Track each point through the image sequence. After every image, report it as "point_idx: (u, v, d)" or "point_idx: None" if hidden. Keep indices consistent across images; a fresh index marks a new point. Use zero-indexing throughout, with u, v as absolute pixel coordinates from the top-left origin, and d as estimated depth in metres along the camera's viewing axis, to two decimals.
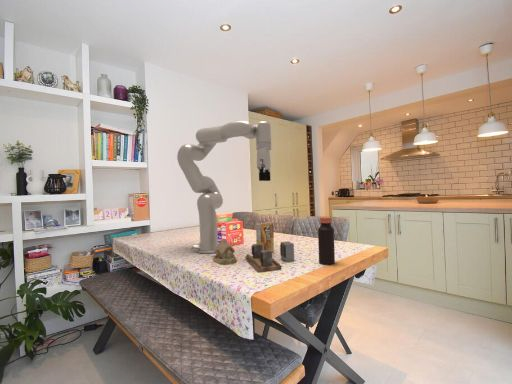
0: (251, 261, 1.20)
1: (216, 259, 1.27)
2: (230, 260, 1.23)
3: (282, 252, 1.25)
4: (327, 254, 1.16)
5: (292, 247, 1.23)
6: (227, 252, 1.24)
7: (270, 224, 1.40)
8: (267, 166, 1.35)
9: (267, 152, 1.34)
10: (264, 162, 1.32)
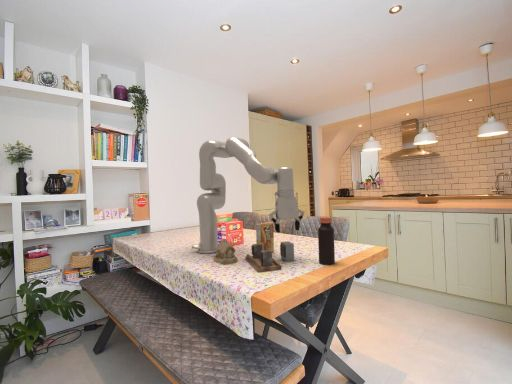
0: (251, 261, 1.20)
1: (217, 259, 1.27)
2: (231, 260, 1.23)
3: (282, 252, 1.25)
4: (327, 254, 1.16)
5: (292, 247, 1.23)
6: (228, 252, 1.25)
7: (270, 224, 1.40)
8: None
9: None
10: None
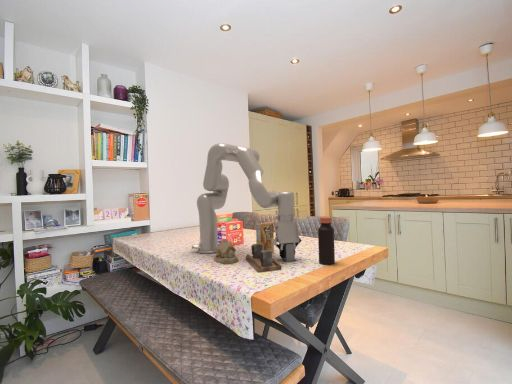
0: (251, 261, 1.20)
1: (217, 259, 1.28)
2: (232, 259, 1.24)
3: None
4: (327, 254, 1.16)
5: (293, 247, 1.23)
6: (229, 252, 1.25)
7: (270, 224, 1.40)
8: None
9: None
10: None
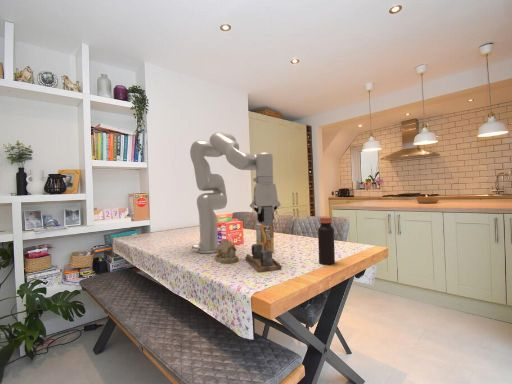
0: (251, 261, 1.20)
1: (218, 258, 1.28)
2: (233, 259, 1.24)
3: None
4: (327, 254, 1.16)
5: (271, 210, 1.19)
6: (230, 251, 1.26)
7: None
8: None
9: None
10: None
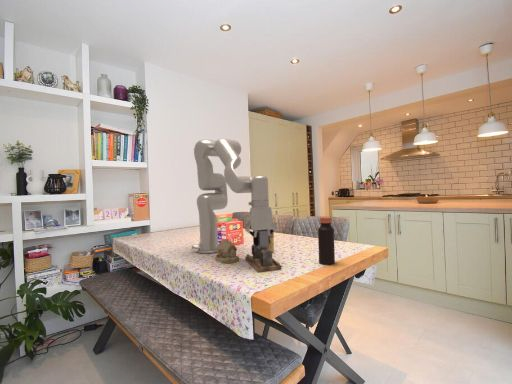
0: (251, 261, 1.20)
1: (219, 258, 1.28)
2: (234, 259, 1.25)
3: None
4: (327, 254, 1.16)
5: (267, 234, 1.18)
6: (230, 251, 1.26)
7: None
8: None
9: None
10: None
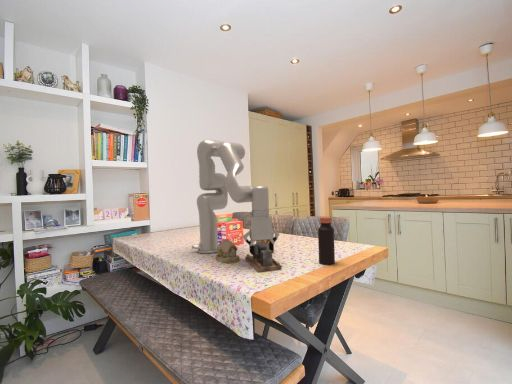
0: (251, 261, 1.20)
1: (219, 258, 1.28)
2: (234, 259, 1.25)
3: (257, 252, 1.19)
4: (327, 254, 1.16)
5: (267, 247, 1.18)
6: (231, 251, 1.26)
7: None
8: None
9: None
10: None
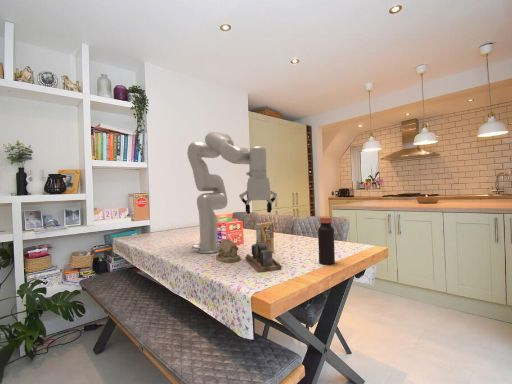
0: (251, 261, 1.20)
1: (220, 258, 1.29)
2: (235, 258, 1.26)
3: (257, 252, 1.19)
4: (327, 254, 1.16)
5: (267, 247, 1.18)
6: (232, 250, 1.27)
7: (270, 224, 1.40)
8: None
9: None
10: None
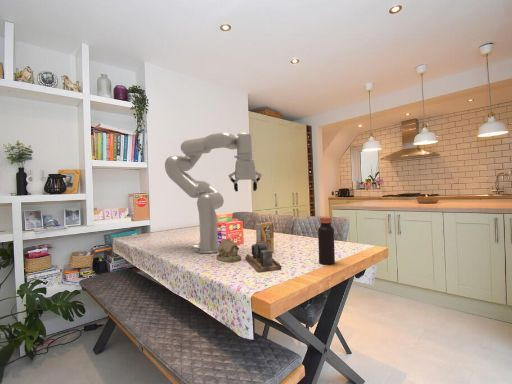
0: (251, 261, 1.20)
1: (221, 258, 1.29)
2: (236, 258, 1.26)
3: (257, 252, 1.19)
4: (327, 254, 1.16)
5: (267, 247, 1.18)
6: (233, 250, 1.27)
7: (270, 224, 1.40)
8: None
9: None
10: None
